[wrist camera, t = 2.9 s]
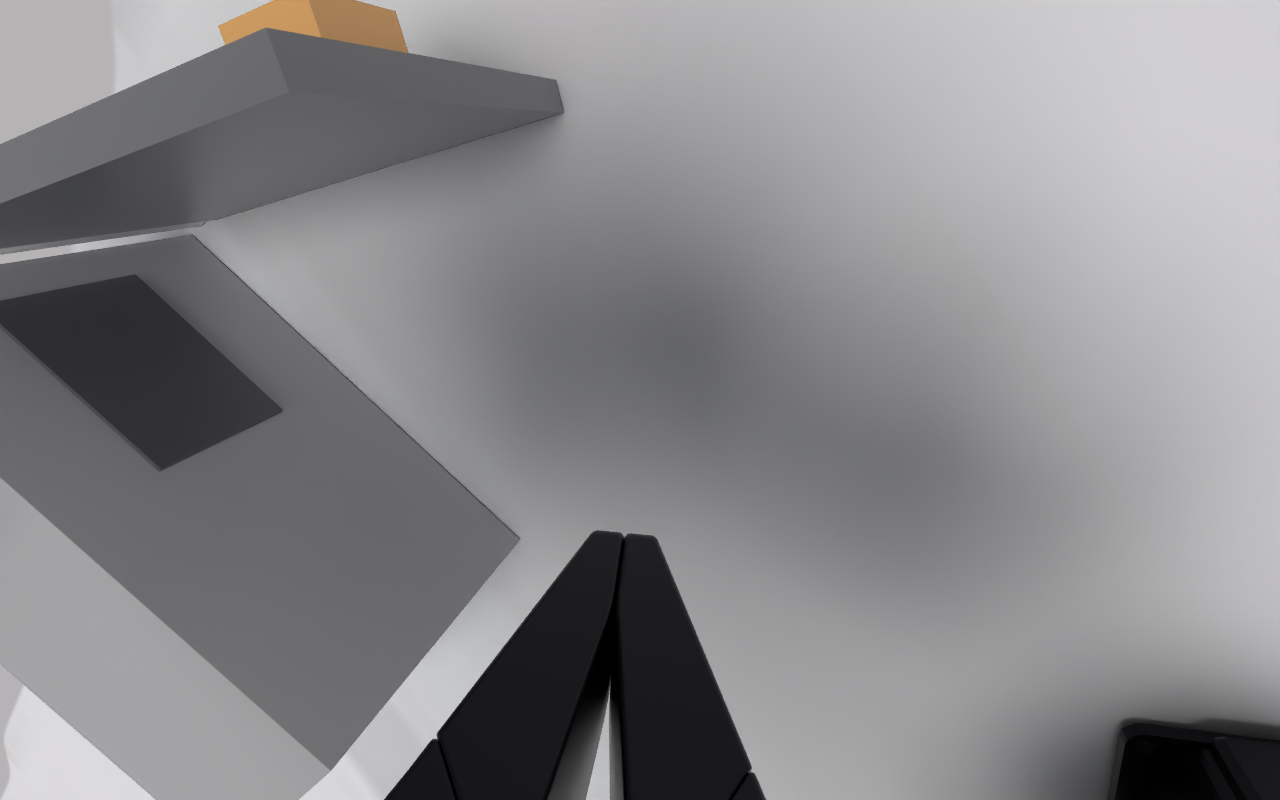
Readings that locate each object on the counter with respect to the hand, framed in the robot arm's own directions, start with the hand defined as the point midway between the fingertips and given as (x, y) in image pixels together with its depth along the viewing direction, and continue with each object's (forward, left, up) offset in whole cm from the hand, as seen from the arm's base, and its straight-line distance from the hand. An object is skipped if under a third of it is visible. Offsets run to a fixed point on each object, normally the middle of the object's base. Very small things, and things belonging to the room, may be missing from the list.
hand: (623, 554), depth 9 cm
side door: (+6, +12, -11) cm, 17 cm away
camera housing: (-4, +16, -11) cm, 20 cm away
